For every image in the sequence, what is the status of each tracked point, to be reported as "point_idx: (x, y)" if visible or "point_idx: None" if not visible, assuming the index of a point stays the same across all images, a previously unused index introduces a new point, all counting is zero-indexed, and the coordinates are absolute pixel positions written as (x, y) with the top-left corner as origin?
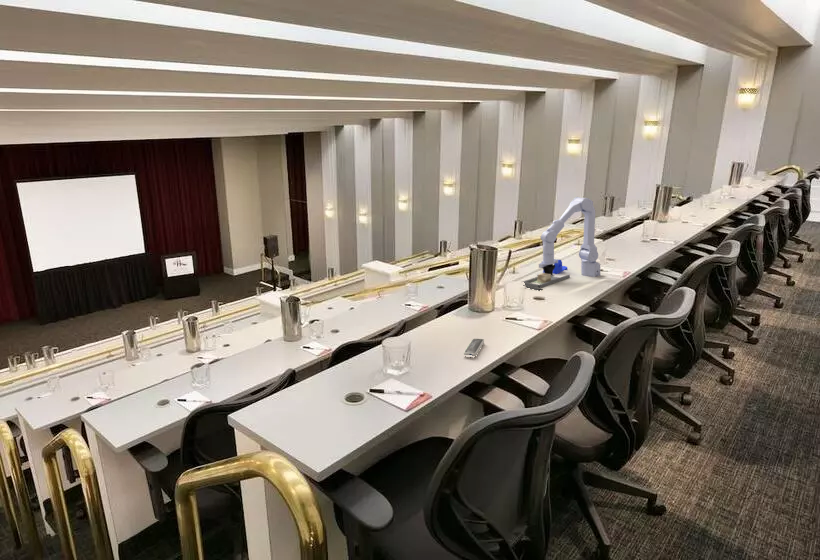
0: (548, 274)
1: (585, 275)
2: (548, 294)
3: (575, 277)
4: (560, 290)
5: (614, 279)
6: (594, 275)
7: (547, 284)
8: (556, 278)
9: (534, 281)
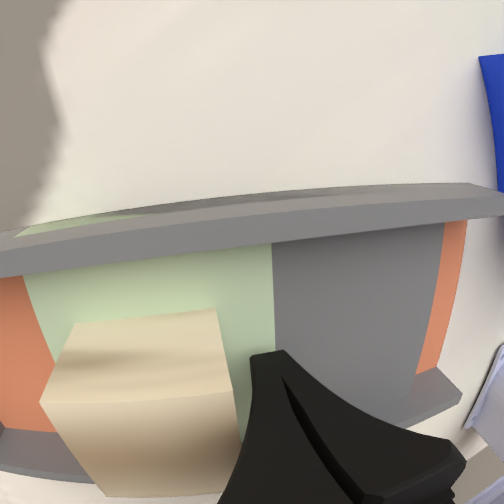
0: (203, 487)
1: (495, 398)
2: (29, 488)
3: (498, 333)
4: (140, 501)
5: (477, 446)
6: (481, 436)
7: None
8: (378, 356)
9: (58, 273)
